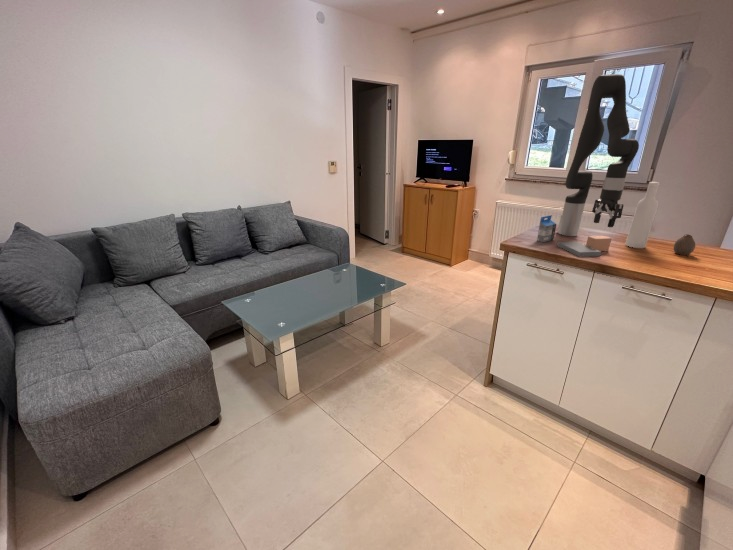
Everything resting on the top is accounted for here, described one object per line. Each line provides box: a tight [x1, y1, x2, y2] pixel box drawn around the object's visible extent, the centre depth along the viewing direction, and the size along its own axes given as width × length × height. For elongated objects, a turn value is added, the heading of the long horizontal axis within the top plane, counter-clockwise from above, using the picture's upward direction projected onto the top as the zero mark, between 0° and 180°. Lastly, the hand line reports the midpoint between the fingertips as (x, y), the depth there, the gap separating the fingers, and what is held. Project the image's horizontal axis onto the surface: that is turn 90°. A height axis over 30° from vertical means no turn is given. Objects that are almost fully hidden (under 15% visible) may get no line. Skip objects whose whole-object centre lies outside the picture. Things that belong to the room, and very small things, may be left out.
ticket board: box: [556, 240, 602, 257], centre depth 155 cm, size 16×10×2 cm, turn 5°
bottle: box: [624, 181, 660, 249], centre depth 155 cm, size 8×8×30 cm
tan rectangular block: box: [585, 235, 612, 252], centre depth 155 cm, size 4×8×6 cm, turn 95°
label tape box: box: [536, 214, 557, 243], centre depth 169 cm, size 9×4×12 cm, turn 120°
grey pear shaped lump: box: [673, 234, 696, 256], centre depth 148 cm, size 7×7×9 cm
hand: (603, 224), depth 151 cm, fingers open, 8 cm apart
